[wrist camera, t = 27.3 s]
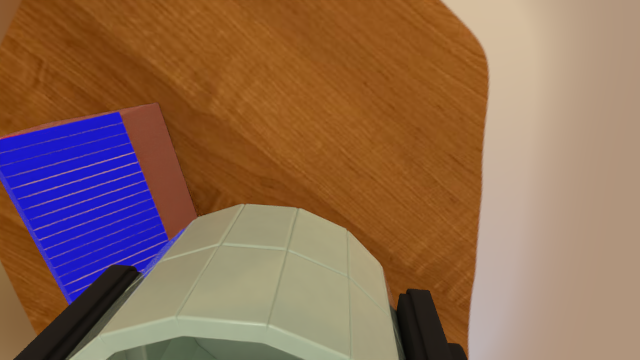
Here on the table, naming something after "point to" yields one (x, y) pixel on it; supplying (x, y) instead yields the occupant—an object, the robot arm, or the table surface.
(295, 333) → the dish
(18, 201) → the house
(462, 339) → the table surface
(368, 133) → the table surface
